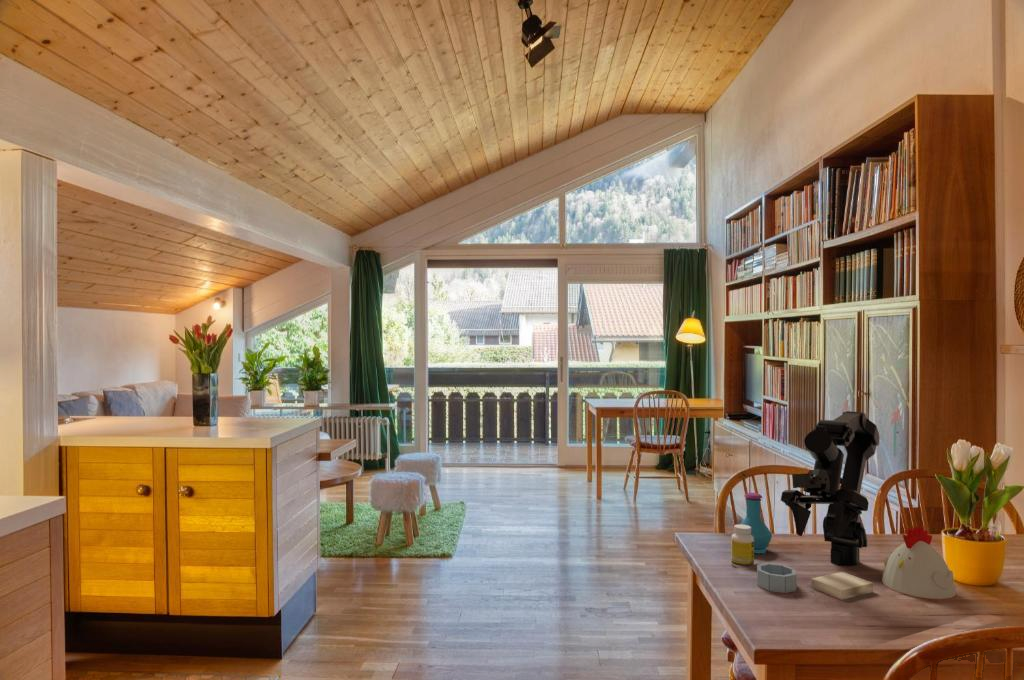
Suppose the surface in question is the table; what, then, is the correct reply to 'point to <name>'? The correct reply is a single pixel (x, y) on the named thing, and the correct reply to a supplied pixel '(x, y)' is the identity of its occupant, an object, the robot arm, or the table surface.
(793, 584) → the bowl
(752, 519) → the teal vase
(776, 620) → the table surface
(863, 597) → the mat
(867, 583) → the cover board
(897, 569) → the white ceramic hen
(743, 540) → the supplement bottle
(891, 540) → the table surface
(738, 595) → the table surface
